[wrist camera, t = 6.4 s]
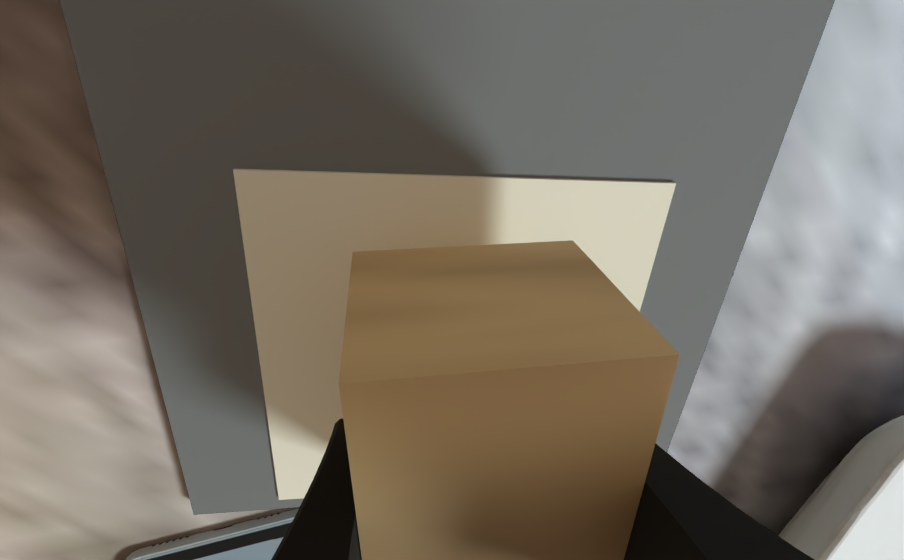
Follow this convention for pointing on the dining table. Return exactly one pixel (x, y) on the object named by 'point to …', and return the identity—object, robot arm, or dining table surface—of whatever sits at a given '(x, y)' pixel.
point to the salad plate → (857, 503)
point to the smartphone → (225, 542)
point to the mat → (412, 178)
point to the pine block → (497, 403)
